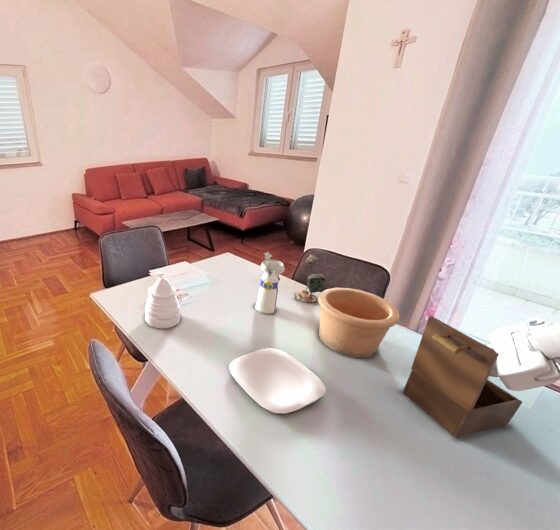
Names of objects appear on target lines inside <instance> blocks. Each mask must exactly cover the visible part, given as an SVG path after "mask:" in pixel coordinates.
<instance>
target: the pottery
mask: <svg viewBox="0 0 560 530" xmlns="http://www.w3.org/2000/svg"><path fill="white" fill-rule="evenodd" d="M317 302H318V305H319V306H320V317H319V330H318V334H319V339H320V340H321V341H322V342H323V343H324V345H326V347H328V348H330V349H331V350H332V351H334V352H337V353H339V354H341V355H344V356H348V357H353V358H367V357H371V356H373V355H374V354H375V353H376V352H377V350H378V348H379V347H380V345H381V344H382V342H383V340H384V338H385V336H386V335H387V334H388V331H389V330H390V328H393V327H394V326H395V325H397V324H398V323H399V321H400V311H399V310H398V309H397V307H396V306H395V305H394V304H393V303H391V302H389V301H388V300H387V299H386V298H383V297H381V296H378V295H377V294H374V293H372V292H371V293H370V292H367V291H364V290H362V289H355V288H350V287H332V288H327V289H324V290H323V292H321V291H320V294H319V296H318V298H317Z"/></svg>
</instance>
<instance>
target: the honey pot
mask: <svg viewBox="0 0 560 530" xmlns="http://www.w3.org/2000/svg"><path fill="white" fill-rule="evenodd" d="M155 275H156V277H157V278H158V279H157V280H156V281H155V282H154V284H153V285H151V286H150V287H148V289H147V294H148V296H147V299H146V303H145V306H144V320H145V322H146V324H147V325H149V327H150V326H151V327H153V328H156V329H170V328H173V327H174V326H176V325H178V324H179V322H180V320H181V305H180V302H179V300H178V296H177V294H176V293H177V289H176V288H175V287H174V286H172V284H171V282H170V281H169V279H167V278H166V277H163V276H164V271H162V270H161V271H160V270H157V271H155Z"/></svg>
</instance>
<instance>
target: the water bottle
mask: <svg viewBox="0 0 560 530" xmlns="http://www.w3.org/2000/svg"><path fill="white" fill-rule="evenodd" d="M263 255H264V260H263V261H262V262H261V264H260V270H261V273H262V274H260V275H259V276H260V282H259V283H260V284H259V285H258V289H257V295H256V299H255V300H256V301H255V304H254V308H255V310H256V311H257V312H259V313H261V314H269V315H270V314H273V313H275V312H276V310H277V309H276V308H277V300H278V293H279V282H280V280H281V278H280V275H281V274H283V273H284V272H285V271H286V268H285V265H284V263H283V262H282V261H280V260H278V259H271V258H272V257H273V255H272V254H270V251H267V252H263Z"/></svg>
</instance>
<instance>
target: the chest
mask: <svg viewBox="0 0 560 530" xmlns="http://www.w3.org/2000/svg"><path fill="white" fill-rule="evenodd" d="M401 393H402V394H403V395H404V396H405V397H406V398H408V399H409V400H410V401H411V402H412V403H413V404H415V406H417V407H418V408H419V409H421V410H422V411H423V412H424V413H425V414H426V415H428V416H429V417H430V418H431V419H432V420H434V422H436V423H437V424H438V425H440V427H441V428H443V429H444V430H445V431H447V432H448V433H449V434H450V435H452V437H454V438H455V439H457V438H461V437H467V436H470V435H474V434H478V433H482V432H486V431H490V430H495V429H498V428H504V427H507V426H508V425H509V423H510V422H511V420H512V419H513V418H514V416H515V414H516V413H517V411H518V410H519V408H520V407H521V405H522V404H523V400H521V399H519V398H518V397H516V396H514V395H513V394H511V393H510V392H508V391H506V390H505V389H503V388H502V387H500V386H499V385H497V384H495V383H494V382H492V381H491V380H489V378H488V379H487V381H486V383H485V385H484V387H483V389H482V391H481V393H480V395H479V397H478V399H477V401H476V404H475V406H474V408H473V410H472V412H469V413H468V412H467V411H466V410H464V409H463V408H462V407H460V406H459V405H458V404H456V403H455V402H454V401H452V400H451V399H450V398H448V397H447V396H446V395H444V394H443V393H442V392H440V391H439V390H438V389H436V388H435V387H434V386H432V385H431V384H430V383H428V382H427V381H426V380H425V379H423V378H422V377H421V376H419V375H418V374H417V373H415V372H414V371H413V370H411V371H410V374H409V376H408V379H407V380H406V383H405V385H404V387H403V390H402V392H401Z"/></svg>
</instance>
